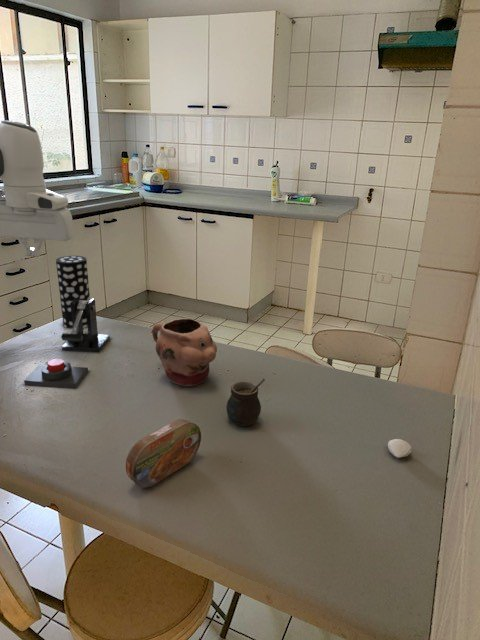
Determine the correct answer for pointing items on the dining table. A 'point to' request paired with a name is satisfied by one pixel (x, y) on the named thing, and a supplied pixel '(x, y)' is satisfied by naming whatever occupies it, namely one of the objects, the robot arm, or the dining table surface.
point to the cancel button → (55, 365)
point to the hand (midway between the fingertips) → (32, 256)
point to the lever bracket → (92, 339)
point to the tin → (163, 452)
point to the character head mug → (184, 350)
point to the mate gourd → (244, 403)
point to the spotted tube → (72, 285)
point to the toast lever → (76, 324)
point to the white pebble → (399, 448)
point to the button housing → (57, 376)
